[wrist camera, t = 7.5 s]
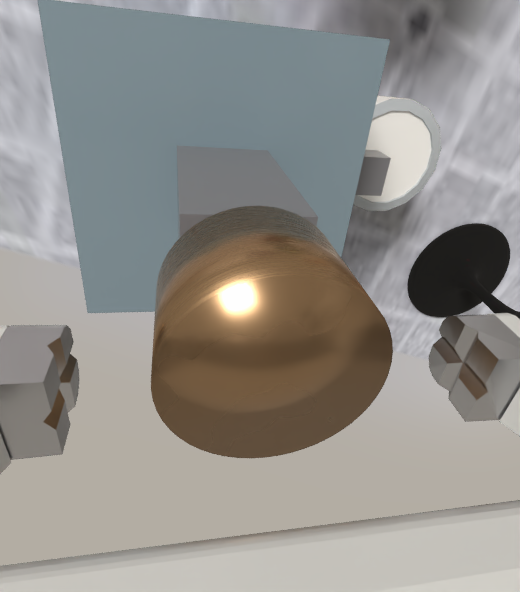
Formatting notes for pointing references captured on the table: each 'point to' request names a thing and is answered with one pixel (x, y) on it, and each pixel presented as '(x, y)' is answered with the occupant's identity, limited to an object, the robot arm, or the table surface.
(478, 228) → the wine glass
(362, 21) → the table surface
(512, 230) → the table surface
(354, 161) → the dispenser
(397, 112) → the shot glass
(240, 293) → the pump plunger
